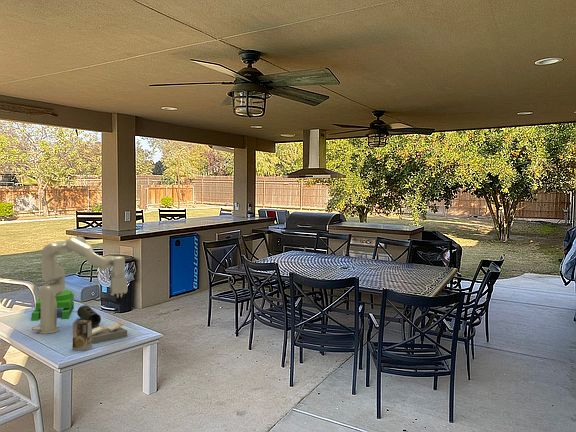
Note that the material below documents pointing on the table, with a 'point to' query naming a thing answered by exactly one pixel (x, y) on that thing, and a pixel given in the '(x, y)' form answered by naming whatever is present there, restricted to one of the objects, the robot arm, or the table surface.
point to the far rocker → (115, 326)
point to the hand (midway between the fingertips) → (118, 303)
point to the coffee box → (82, 335)
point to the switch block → (108, 335)
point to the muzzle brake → (89, 315)
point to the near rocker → (98, 329)
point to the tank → (62, 302)
